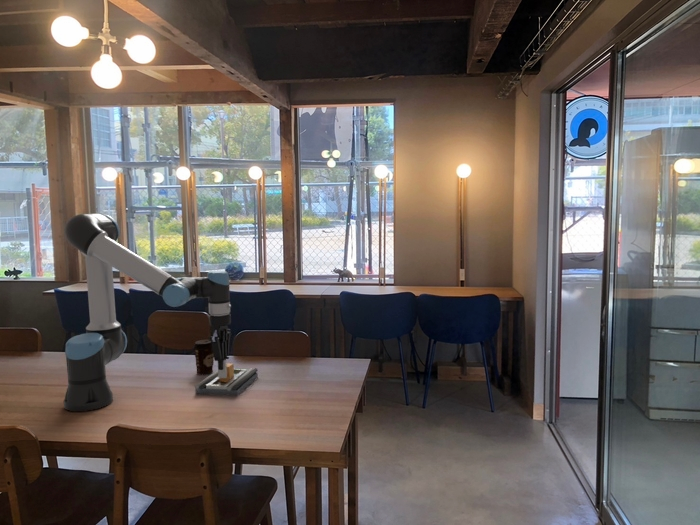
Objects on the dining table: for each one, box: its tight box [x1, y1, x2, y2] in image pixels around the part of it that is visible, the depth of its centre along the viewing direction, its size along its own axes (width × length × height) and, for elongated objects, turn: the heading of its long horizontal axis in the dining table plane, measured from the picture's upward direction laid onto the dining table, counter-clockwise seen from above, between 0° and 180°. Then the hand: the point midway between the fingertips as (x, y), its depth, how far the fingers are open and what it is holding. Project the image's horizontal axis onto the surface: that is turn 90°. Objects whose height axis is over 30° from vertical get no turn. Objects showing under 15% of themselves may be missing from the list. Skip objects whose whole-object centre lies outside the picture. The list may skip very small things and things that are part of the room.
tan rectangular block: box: [220, 362, 235, 382], centre depth 198 cm, size 4×4×6 cm
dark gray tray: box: [194, 367, 258, 391], centre depth 199 cm, size 22×15×1 cm
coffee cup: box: [192, 339, 215, 376], centre depth 214 cm, size 9×8×13 cm
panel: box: [194, 368, 258, 397], centre depth 199 cm, size 20×16×3 cm
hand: (222, 377), depth 195 cm, fingers closed
